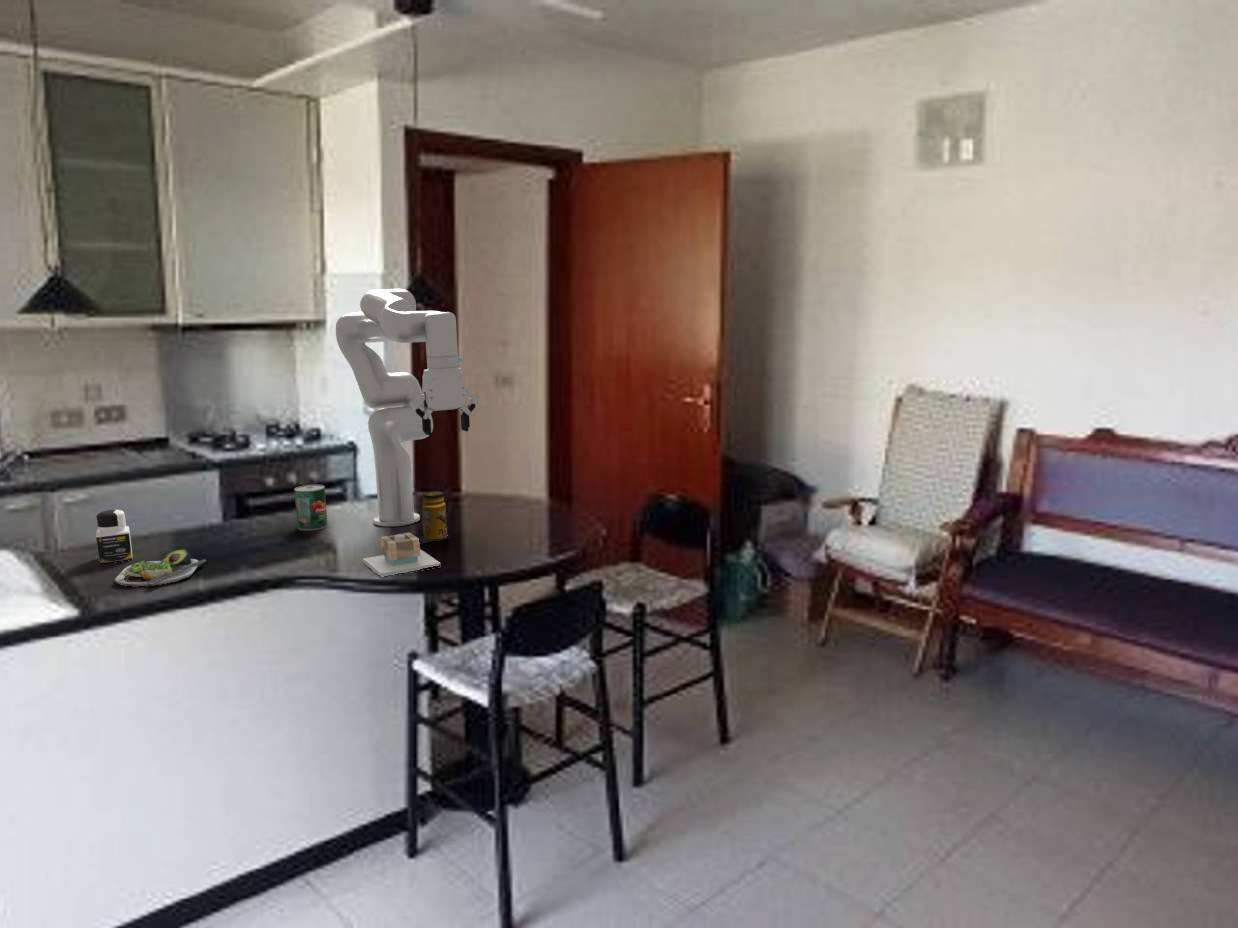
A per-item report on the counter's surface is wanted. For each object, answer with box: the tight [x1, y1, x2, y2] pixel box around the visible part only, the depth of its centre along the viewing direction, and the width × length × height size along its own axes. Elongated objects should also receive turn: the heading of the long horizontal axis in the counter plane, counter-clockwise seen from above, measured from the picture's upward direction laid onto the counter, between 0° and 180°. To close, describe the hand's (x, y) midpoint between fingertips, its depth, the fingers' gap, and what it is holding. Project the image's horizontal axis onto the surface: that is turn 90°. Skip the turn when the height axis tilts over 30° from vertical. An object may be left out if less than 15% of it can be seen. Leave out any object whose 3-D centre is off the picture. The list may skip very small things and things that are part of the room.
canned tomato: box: [293, 484, 329, 532], centre depth 256 cm, size 8×8×11 cm
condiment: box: [421, 490, 448, 540], centre depth 241 cm, size 7×8×12 cm
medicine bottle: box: [95, 509, 133, 562], centre depth 229 cm, size 7×7×12 cm
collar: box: [380, 532, 421, 561], centre depth 219 cm, size 7×7×4 cm
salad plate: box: [114, 549, 207, 588], centre depth 215 cm, size 19×18×5 cm
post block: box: [362, 534, 441, 577], centre depth 219 cm, size 14×14×7 cm
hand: (446, 432), depth 233 cm, fingers open, 9 cm apart
